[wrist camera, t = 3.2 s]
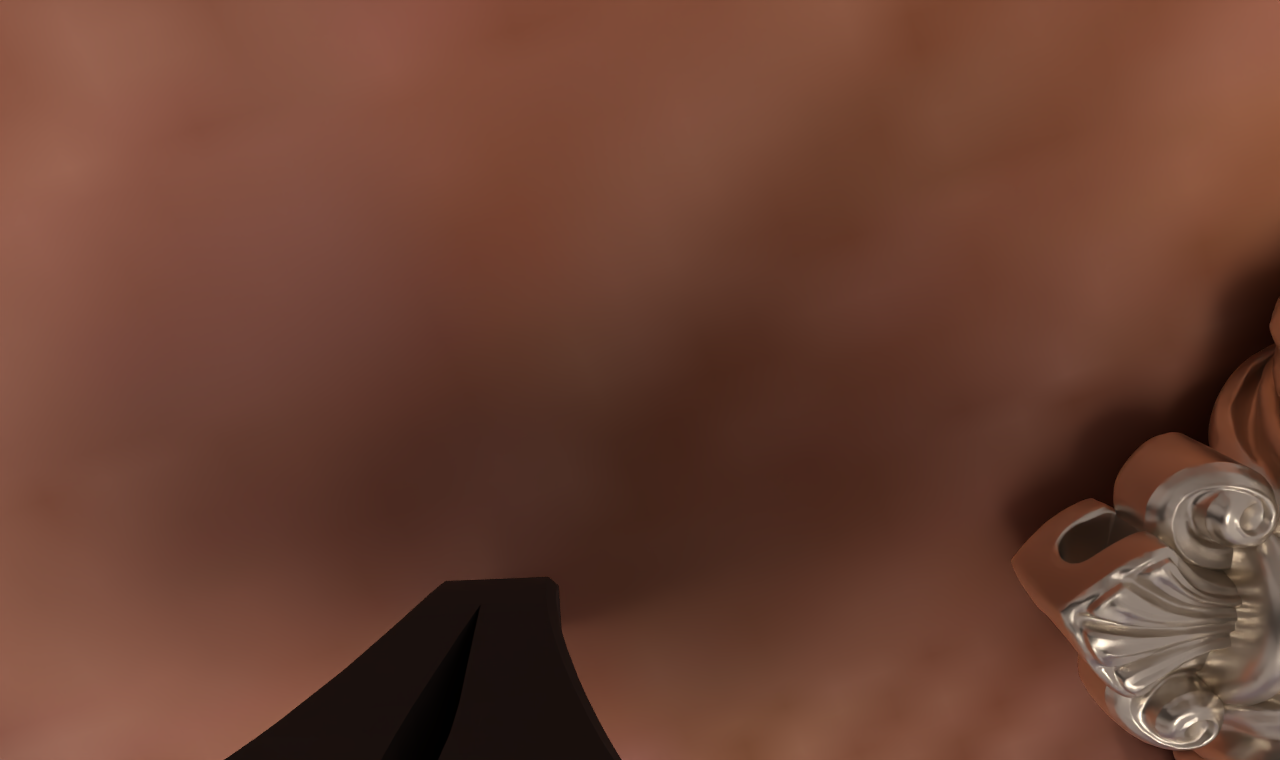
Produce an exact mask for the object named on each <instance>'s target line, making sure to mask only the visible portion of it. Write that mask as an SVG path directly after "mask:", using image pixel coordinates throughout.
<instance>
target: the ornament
mask: <svg viewBox="0 0 1280 760" xmlns="http://www.w3.org/2000/svg"><path fill="white" fill-rule="evenodd" d="M1269 328H1270V332H1271V335H1272V338H1273V340H1274V342H1275V343H1274V344H1272V345H1270V346H1268V347H1266V348H1264V349H1263V350H1261V351H1259V352H1257V353H1256V354H1254V355H1252V356H1251V357H1249V358H1248V359H1247V360H1246V361H1244V362H1243V363H1242V364H1241V365H1240V366H1239V367H1238V368H1237V369H1236V370H1235V371H1234V372H1233V373H1232V375H1231V376H1230V377H1229V378H1228V380H1227V381H1226V383H1225V384H1224V386H1223V387H1222V389H1221V391H1220V393H1219V395H1218V397H1217V399H1216V402H1215V404H1214V407H1213V410H1212V414H1211V418H1210V421H1209V428H1208V441H1209V446H1210V447H1209V446H1207V445H1204V444H1202V443H1200V442H1198V441H1196V440H1194V439H1192V438H1190V437H1188V436H1186V435H1184V434H1182V433H1177V432H1170V433H1166V434H1162V435H1158V436H1155V437H1153V438H1151V439H1149V440H1148V441H1146V442H1145V443H1143V444H1142V445H1141V446H1140V447H1139V448H1138V449H1137V450H1136V451H1135V452H1134V453H1133V454H1132V455H1131V456H1130V457H1129V458H1128V460H1127V461H1126V462H1125V464H1124V465H1123V467H1122V468H1121V470H1120V471H1119V473H1118V475H1117V478H1116V480H1115V484H1114V493H1113V505H1114V508H1113V507H1111V506H1109V505H1107V504H1105V503H1102V502H1099V501H1097V500H1095V499H1093V498H1089V499H1086V500H1083V501H1080V502H1078V503H1076V504H1074V505H1072V506H1070V507H1068V508H1066V509H1064V510H1063V511H1061V512H1059V513H1058V514H1057V515H1055V516H1054V517H1052V518H1051V519H1049V520H1048V521H1047V522H1046V523H1044V524H1043V525H1042V526H1041V527H1040V528H1039V529H1038V530H1037V531H1036V532H1035V533H1034V534H1033V535H1032V536H1031V537H1030V538H1029V539H1028V540H1027V541H1026V542H1025V544H1024V545H1023V546H1022V547H1021V548H1020V549H1019V550H1018V552H1017V553H1016V554H1015V555H1014V557H1013V558H1012V559H1011V563H1012V566H1013V569H1014V571H1015V573H1016V575H1017V577H1018V579H1019V581H1020V583H1021V584H1022V586H1023V587H1024V589H1025V590H1026V592H1027V593H1028V595H1029V596H1030V598H1031V599H1032V601H1033V602H1034V603H1035V604H1036V606H1037V607H1038V608H1039V609H1040V610H1041V611H1043V612H1044V613H1045V614H1046V615H1047V616H1048V617H1049V618H1050V620H1051V621H1052V622H1053V623H1054V624H1055V625H1056V627H1057V628H1058V629H1059V630H1060V631H1061V633H1062V634H1063V635H1064V636H1065V637H1066V639H1067V640H1068V641H1069V642H1070V644H1071V645H1072V646H1073V647H1074V649H1075V650H1076V651H1077V652H1078V672H1079V677H1080V679H1081V681H1082V682H1083V684H1084V685H1085V687H1086V689H1087V691H1088V693H1089V694H1090V695H1091V697H1092V698H1093V699H1094V701H1095V702H1096V703H1097V704H1098V705H1099V706H1100V708H1101V709H1102V710H1103V711H1104V712H1105V713H1106V714H1107V715H1108V716H1109V717H1110V718H1111V719H1112V720H1114V721H1115V722H1116V723H1117V724H1118V725H1119V726H1120V727H1122V728H1123V729H1124V730H1125V731H1126V732H1128V733H1129V734H1131V735H1132V736H1134V737H1136V738H1138V739H1139V740H1141V741H1143V742H1145V743H1148V744H1150V745H1153V746H1156V747H1160V748H1163V749H1168V750H1173V755H1174V757H1175V760H1280V297H1279V299H1278V300H1277V302H1276V305H1275V309H1274V311H1273V313H1272V318H1271V322H1270V325H1269Z"/></svg>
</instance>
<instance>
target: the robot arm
mask: <svg viewBox="0 0 1280 760" xmlns="http://www.w3.org/2000/svg"><path fill="white" fill-rule="evenodd" d="M225 760H621V758H620V756H619V755H618V753H617V752H616V750H615V748H614V747H613V745H612V743H611V742H610V740H609V738H608V736H607V735H606V733H605V731H604V729H603V727H602V726H601V724H600V722H599V720H598V718H597V716H596V714H595V712H594V710H593V708H592V706H591V704H590V702H589V700H588V698H587V696H586V694H585V692H584V689H583V687H582V685H581V683H580V680H579V678H578V676H577V673H576V670H575V668H574V665H573V663H572V660H571V657H570V655H569V652H568V649H567V647H566V644H565V640H564V637H563V634H562V630H561V615H560V599H559V586H558V585H557V584H556V583H555V582H554V581H553V580H552V579H550V578H549V577H536V578H511V579H486V580H461V581H445V582H444V583H443V584H441V585H440V586H439V587H437V588H436V589H435V590H434V591H433V592H432V593H431V594H429V595H428V596H427V597H426V598H425V599H424V600H423V601H422V602H420V603H419V604H418V605H417V606H416V607H415V608H414V609H413V610H412V611H410V612H409V613H408V614H407V615H406V616H405V617H404V618H403V619H402V620H400V621H399V622H398V623H397V624H396V625H395V626H394V627H393V628H392V629H390V630H389V631H388V632H387V633H386V634H385V635H384V636H382V637H381V638H380V639H379V640H378V641H377V642H376V643H374V644H373V645H372V646H371V647H370V648H369V649H368V650H366V651H365V652H364V653H363V654H362V655H361V656H360V657H358V658H357V659H356V660H355V661H354V662H353V663H351V664H350V665H349V666H348V667H347V668H346V669H344V670H343V671H342V672H341V673H339V674H338V675H337V676H336V677H334V678H333V679H332V680H331V681H329V682H328V683H327V684H325V685H324V686H323V687H322V688H320V689H319V690H318V691H317V692H315V693H314V694H313V695H311V696H310V697H309V698H308V699H306V700H305V701H304V702H303V703H301V704H300V705H299V706H297V707H296V708H295V709H294V710H292V711H291V712H290V713H289V714H287V715H286V716H285V717H284V718H282V719H281V720H280V721H278V722H277V723H276V724H274V725H273V726H272V727H270V728H269V729H268V730H266V731H265V732H263V733H262V734H261V735H259V736H258V737H257V738H255V739H254V740H252V741H251V742H249V743H248V744H247V745H245V746H244V747H242V748H241V749H239V750H238V751H236V752H235V753H234V754H232V755H231V756H229V757H228V758H226V759H225Z"/></svg>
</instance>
